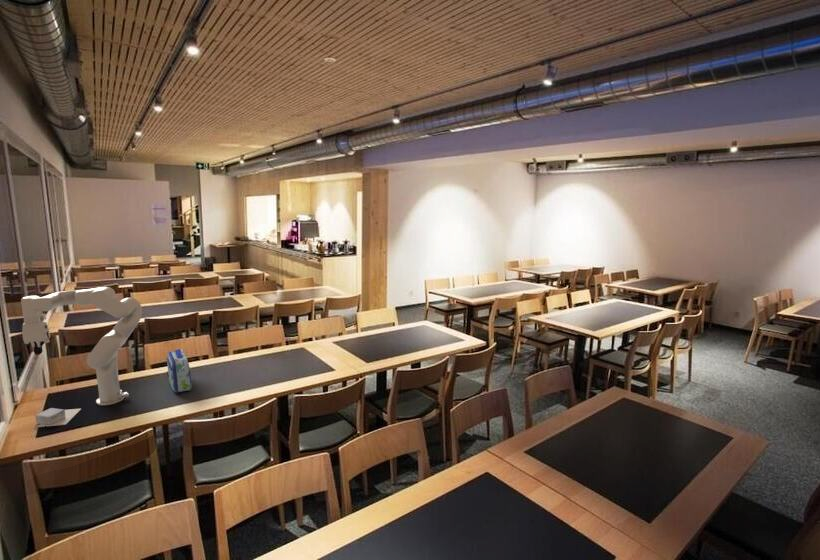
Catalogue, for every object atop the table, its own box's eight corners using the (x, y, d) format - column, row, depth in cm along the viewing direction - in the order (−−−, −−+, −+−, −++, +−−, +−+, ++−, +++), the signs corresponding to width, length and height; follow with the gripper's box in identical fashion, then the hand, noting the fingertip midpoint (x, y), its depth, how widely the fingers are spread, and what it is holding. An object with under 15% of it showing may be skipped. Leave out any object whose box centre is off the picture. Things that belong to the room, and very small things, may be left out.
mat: (81, 409, 226) (81, 408, 226) (65, 424, 211) (65, 423, 211) (54, 411, 223) (54, 410, 223) (36, 427, 208) (36, 426, 208)
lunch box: (167, 380, 263) (164, 348, 259) (186, 376, 269) (184, 344, 265) (172, 397, 242) (169, 362, 238) (193, 392, 248) (191, 358, 244)
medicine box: (35, 423, 210) (50, 425, 209) (34, 414, 210) (49, 417, 208) (51, 415, 218) (66, 417, 216) (50, 407, 217) (65, 409, 216)
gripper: (54, 317, 225) (59, 350, 229) (20, 318, 221) (25, 352, 225) (46, 321, 218) (51, 355, 221) (11, 322, 214) (17, 357, 218)
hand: (38, 353), depth 223 cm, fingers closed
